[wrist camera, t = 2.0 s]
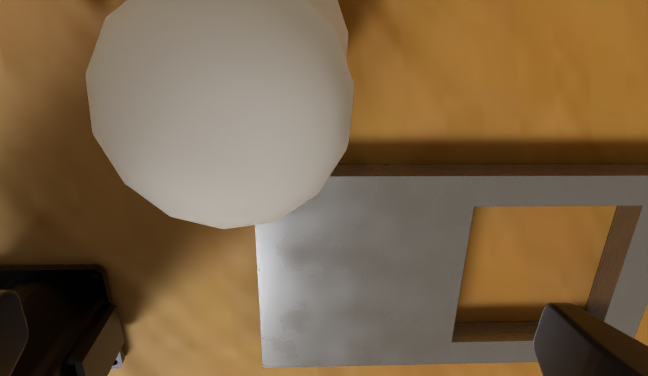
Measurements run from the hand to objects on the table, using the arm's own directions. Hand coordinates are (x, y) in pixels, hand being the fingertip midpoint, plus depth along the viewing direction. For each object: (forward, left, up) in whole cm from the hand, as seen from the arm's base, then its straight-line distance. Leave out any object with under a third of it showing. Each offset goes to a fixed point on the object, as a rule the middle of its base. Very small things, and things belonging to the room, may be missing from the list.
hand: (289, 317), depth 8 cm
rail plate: (+8, -8, -13) cm, 17 cm away
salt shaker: (-1, +3, -13) cm, 14 cm away
